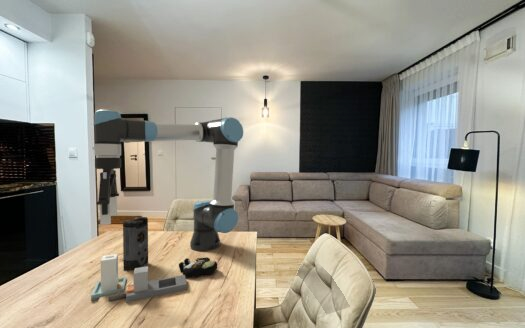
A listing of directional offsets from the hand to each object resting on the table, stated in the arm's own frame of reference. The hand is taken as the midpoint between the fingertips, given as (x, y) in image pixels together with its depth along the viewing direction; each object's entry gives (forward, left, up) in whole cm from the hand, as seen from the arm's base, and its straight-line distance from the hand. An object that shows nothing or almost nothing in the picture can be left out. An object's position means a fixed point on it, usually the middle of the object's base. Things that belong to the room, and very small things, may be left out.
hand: (109, 219), depth 82 cm
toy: (-30, 0, -25) cm, 39 cm away
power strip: (-12, +9, -25) cm, 29 cm away
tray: (0, 0, -25) cm, 25 cm away
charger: (0, 0, -24) cm, 24 cm away
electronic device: (-7, -16, -25) cm, 30 cm away
